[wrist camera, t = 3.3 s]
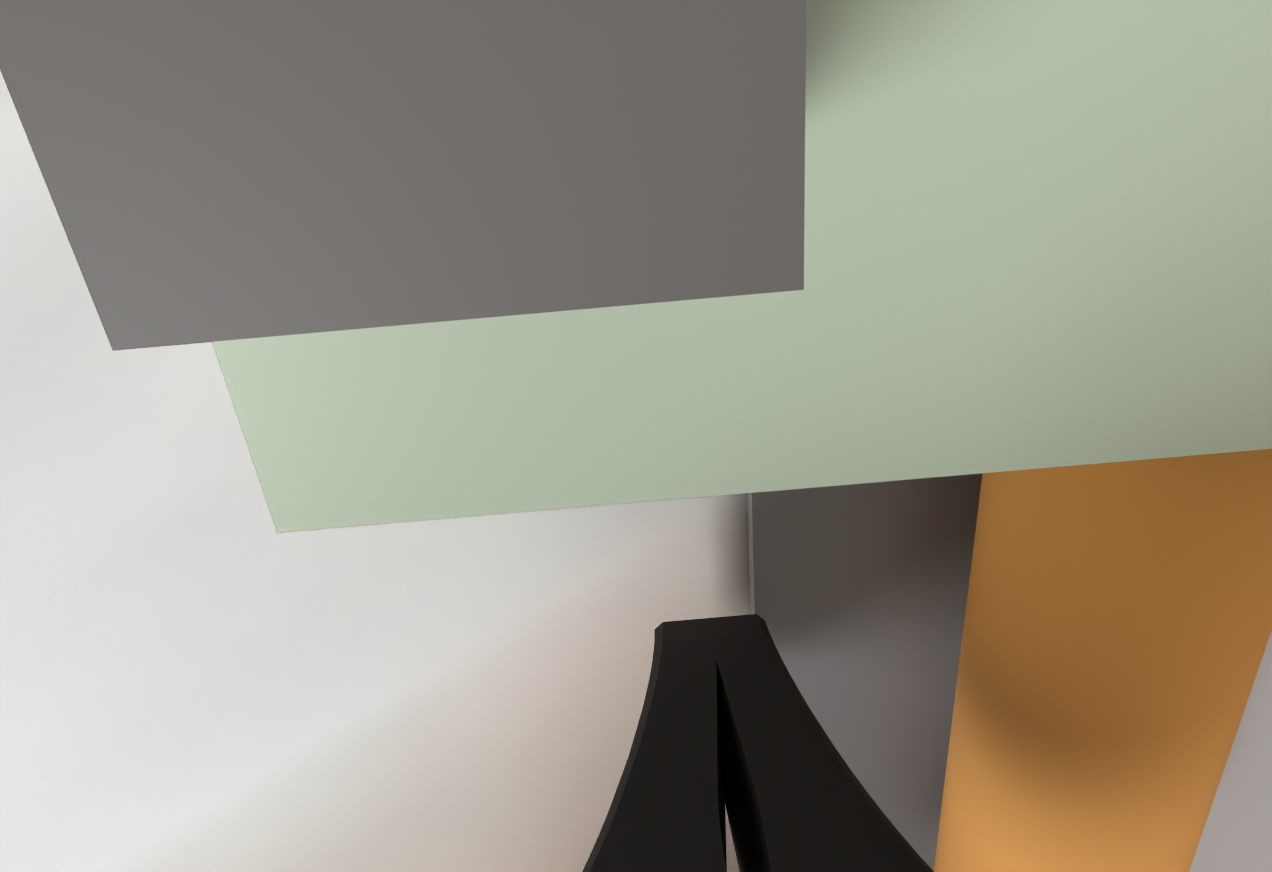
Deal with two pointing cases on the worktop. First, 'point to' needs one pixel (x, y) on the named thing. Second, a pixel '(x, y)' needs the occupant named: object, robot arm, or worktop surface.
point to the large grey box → (927, 649)
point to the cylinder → (1105, 661)
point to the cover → (670, 235)
